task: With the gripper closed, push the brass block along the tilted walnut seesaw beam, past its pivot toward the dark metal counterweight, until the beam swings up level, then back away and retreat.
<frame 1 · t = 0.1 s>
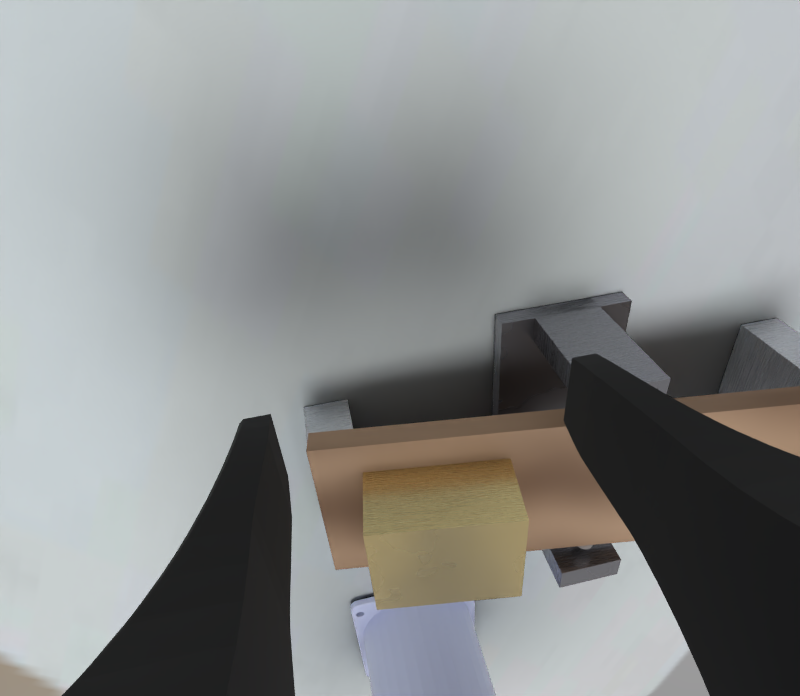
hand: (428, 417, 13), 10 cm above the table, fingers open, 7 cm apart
stand: (548, 406, 28), on the table
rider: (438, 505, 24), point 5 cm above the table, tilted 8°, touching beam
beam: (608, 508, 23), point 6 cm above the table, hinge at -8.1°, touching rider
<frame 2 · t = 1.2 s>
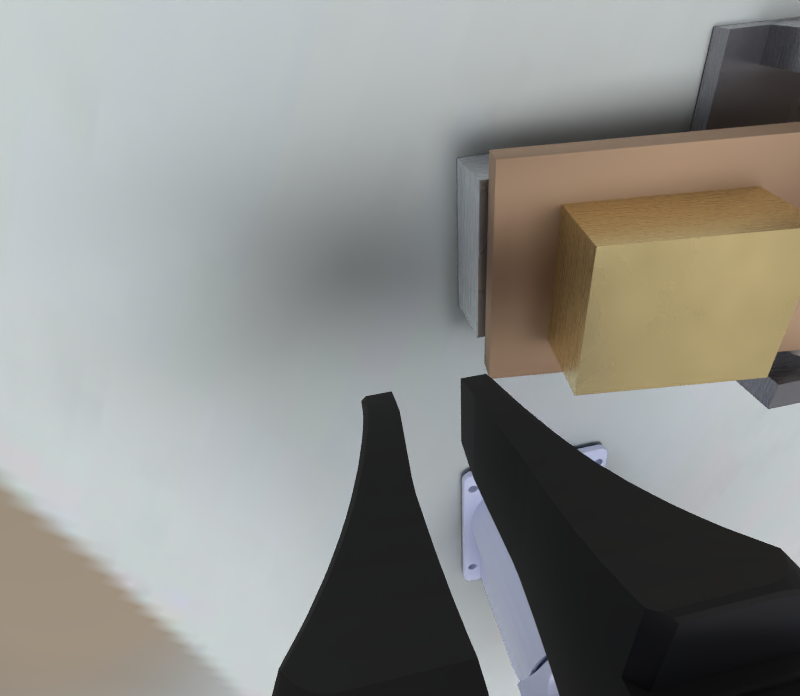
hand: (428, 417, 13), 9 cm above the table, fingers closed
stand: (741, 193, 22), on the table
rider: (645, 269, 18), point 5 cm above the table, tilted 8°, touching beam
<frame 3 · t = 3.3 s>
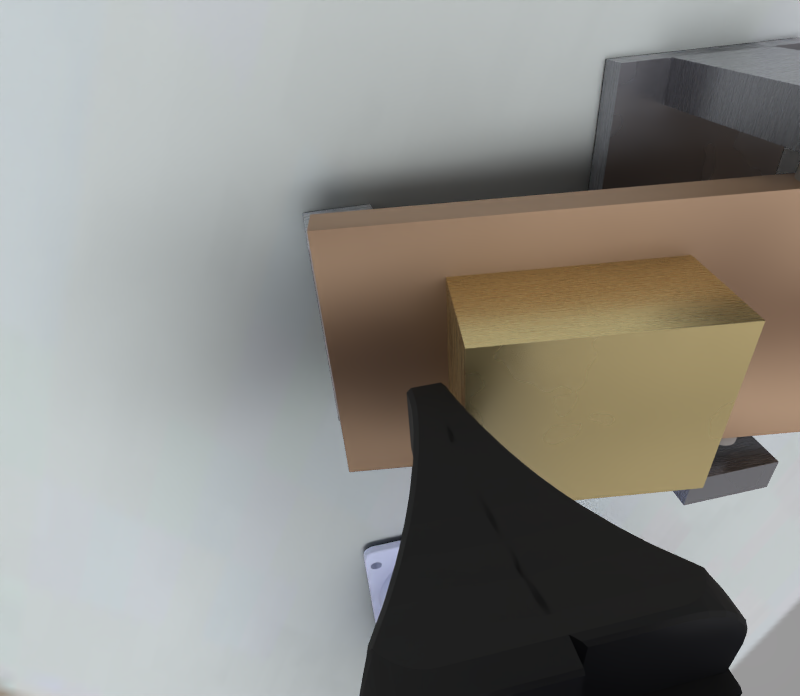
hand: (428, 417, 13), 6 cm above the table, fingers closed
stand: (659, 247, 19), on the table
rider: (558, 349, 15), point 5 cm above the table, tilted 8°, touching beam, gripper
beam: (798, 353, 14), point 6 cm above the table, hinge at -8.1°, touching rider
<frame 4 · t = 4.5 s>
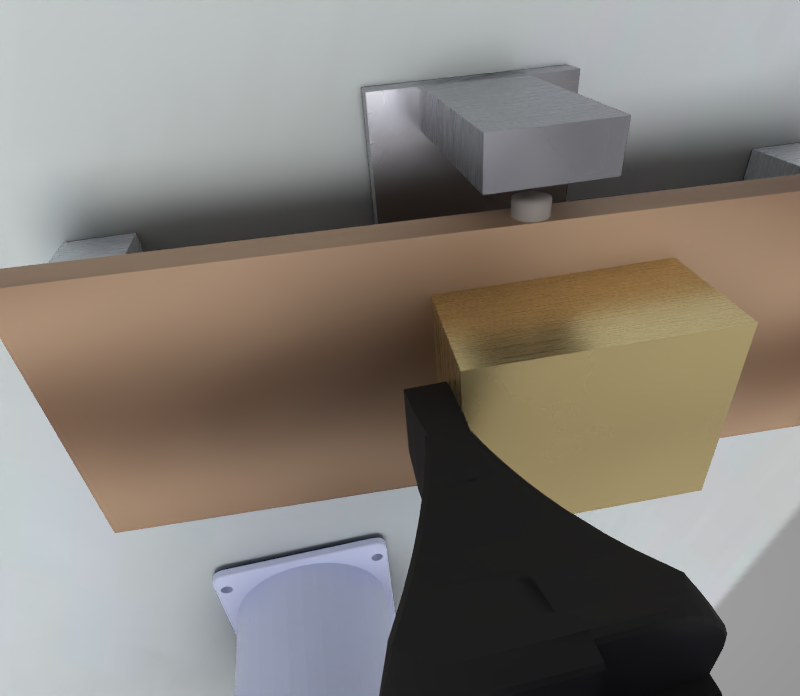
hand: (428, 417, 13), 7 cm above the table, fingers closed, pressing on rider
stand: (466, 273, 19), on the table
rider: (547, 359, 15), point 6 cm above the table, touching beam, gripper
beam: (539, 389, 14), point 6 cm above the table, hinge at -3.2°, touching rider
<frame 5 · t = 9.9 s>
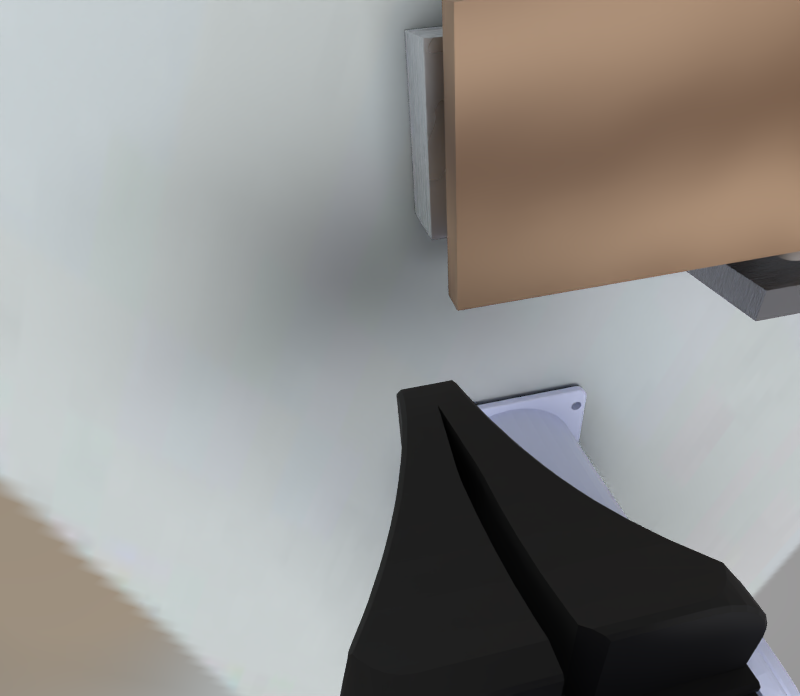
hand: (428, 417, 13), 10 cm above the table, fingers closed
stand: (726, 89, 20), on the table
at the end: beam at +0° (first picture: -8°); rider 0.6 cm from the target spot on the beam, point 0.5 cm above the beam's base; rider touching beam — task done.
